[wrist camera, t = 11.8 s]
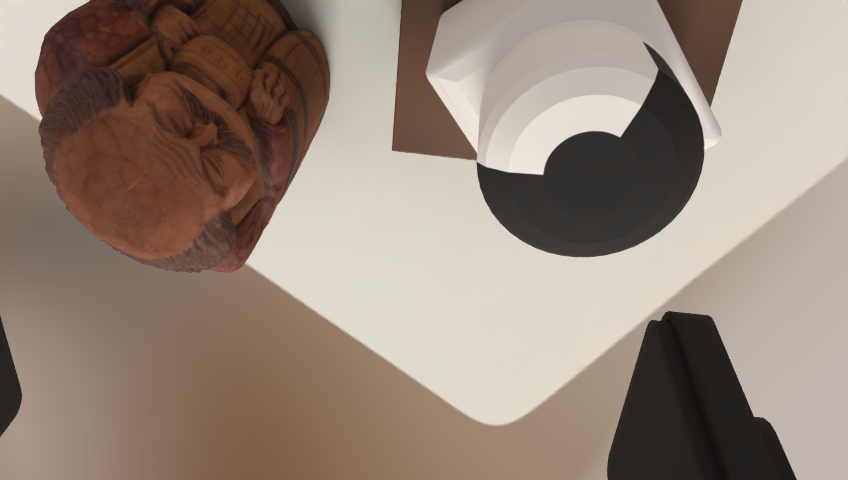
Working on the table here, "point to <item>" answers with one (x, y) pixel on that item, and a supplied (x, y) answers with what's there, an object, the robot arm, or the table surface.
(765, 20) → the table surface
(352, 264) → the table surface
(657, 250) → the table surface
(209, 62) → the wooden figurine
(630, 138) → the medicine bottle
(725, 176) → the table surface
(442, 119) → the walnut shelf
